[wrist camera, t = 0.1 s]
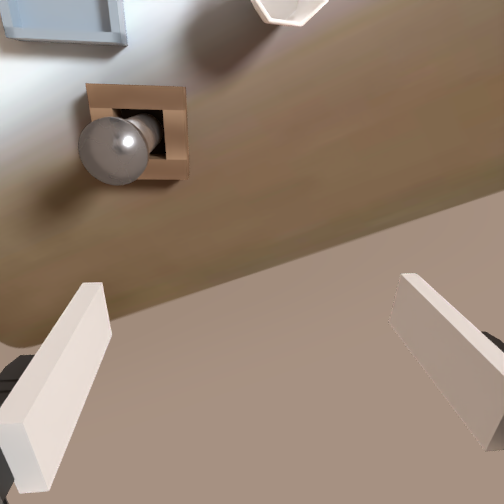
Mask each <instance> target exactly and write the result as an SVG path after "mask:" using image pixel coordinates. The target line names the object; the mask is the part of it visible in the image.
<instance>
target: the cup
mask: <svg viewBox="0 0 504 504" xmlns="http://www.w3.org/2000/svg"><path fill="white" fill-rule="evenodd" d="M250 1H251V2H252V4H253V7H254V8H255V10H256V11H257V13H258V14H259V16H260V17H261V19H262V20H263V22H265V23H268V24H276V25H284V26H303V25H304V24H305V23H306V22H307V21H308V20H309V19H310V18H311V17H312V16H313V15H314V14H315V13H316V12H318V11H319V10H320V9H321V8H322V7H323V6H324V5H325V4H326V3H327V2H328V1H329V0H250Z"/></svg>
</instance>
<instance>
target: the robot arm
mask: <svg viewBox="0 0 504 504" xmlns="http://www.w3.org/2000/svg"><path fill="white" fill-rule="evenodd" d="M388 323H389V324H390V325H391V326H392V328H393V329H394V331H395V332H396V333H397V335H398V336H399V337H400V339H401V340H402V341H403V343H404V344H405V345H406V347H407V348H408V349H409V351H410V352H411V353H412V355H413V356H414V357H415V359H416V360H417V361H418V363H419V364H420V365H421V367H422V368H423V369H424V371H425V372H426V373H427V374H428V376H429V377H430V378H431V380H432V381H433V383H434V384H435V385H436V387H437V388H438V389H439V390H440V392H441V393H442V395H443V396H444V397H445V399H446V400H447V401H448V403H449V404H450V405H451V407H452V408H453V409H454V411H455V412H456V413H457V415H458V416H459V417H460V419H461V420H462V421H463V422H464V424H465V425H466V427H467V428H468V429H469V431H470V432H471V433H472V435H473V436H474V437H475V439H476V440H477V441H478V443H479V444H480V445H481V447H482V448H483V449H484V451H496V450H504V343H503V342H502V341H501V340H499V339H497V338H495V337H494V336H492V335H490V334H489V333H487V332H480V331H479V330H478V329H477V328H476V327H475V326H474V325H473V324H472V323H470V322H469V321H468V320H467V319H466V318H465V317H464V316H463V315H461V313H459V312H458V311H457V310H456V309H455V308H454V307H453V306H452V305H451V304H450V303H448V302H447V301H446V300H445V299H444V298H443V297H442V296H441V295H440V294H439V293H437V292H436V291H435V290H434V289H433V288H432V287H431V286H430V285H429V284H427V283H426V282H425V281H424V280H423V279H422V278H421V277H420V276H419V275H418V274H417V273H408V274H407V273H406V274H400V278H399V282H398V286H397V290H396V294H395V298H394V302H393V306H392V310H391V314H390V318H389V322H388ZM111 336H112V332H111V327H110V322H109V316H108V311H107V306H106V300H105V295H104V290H103V285H102V282H95V283H82V285H81V286H80V288H79V289H78V291H77V292H76V294H75V295H74V297H73V298H72V300H71V302H70V303H69V305H68V306H67V308H66V309H65V311H64V312H63V314H62V315H61V317H60V318H59V320H58V321H57V323H56V324H55V326H54V327H53V329H52V330H51V332H50V333H49V335H48V336H47V338H46V339H45V341H44V342H43V344H42V346H41V347H40V348H39V350H38V351H37V353H36V354H35V355H20V356H19V357H18V358H16V359H15V360H14V361H13V362H11V363H10V364H8V365H7V366H6V367H5V368H4V369H3V371H2V372H1V373H0V504H9V503H8V501H7V499H6V495H7V494H8V491H9V489H10V488H11V486H12V484H13V482H15V485H16V487H17V489H18V491H19V493H20V494H21V493H32V492H42V491H49V490H50V487H51V484H52V482H53V480H54V477H55V475H56V472H57V470H58V467H59V465H60V462H61V460H62V457H63V455H64V452H65V450H66V447H67V445H68V443H69V440H70V438H71V435H72V433H73V430H74V428H75V425H76V422H77V420H78V418H79V415H80V413H81V410H82V408H83V406H84V403H85V401H86V398H87V396H88V393H89V391H90V388H91V385H92V383H93V381H94V378H95V376H96V373H97V371H98V368H99V366H100V363H101V361H102V359H103V356H104V354H105V351H106V348H107V346H108V344H109V341H110V338H111Z"/></svg>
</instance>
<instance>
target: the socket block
mask: <svg viewBox="0 0 504 504" xmlns="http://www.w3.org/2000/svg"><path fill="white" fill-rule="evenodd" d="M85 84H86V90H87V96H88V102H89V109H90V115H91V121H94V120H97V119H100V118H104V117H119V118H122V113H121V109H151V110H163V120H164V133H165V146H166V154H158V153H149V161H148V164H147V167H146V169H145V170H144V172H143V173H142V174H141V175H140V176H139V177H138V178H137V179H169V180H188V177H189V173H190V167H189V145H188V124H187V103H186V87H174V86H146V85H118V84H88V83H85Z"/></svg>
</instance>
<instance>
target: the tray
mask: <svg viewBox="0 0 504 504" xmlns="http://www.w3.org/2000/svg"><path fill="white" fill-rule="evenodd" d="M0 14H1V18H2V22H3V26H4V30H5V35H6V37H7V38H11V39H15V40H19V41H37V42H58V43H79V44H101V45H122V46H128V44H127V35H126V25H125V16H124V7H123V0H0Z"/></svg>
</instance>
